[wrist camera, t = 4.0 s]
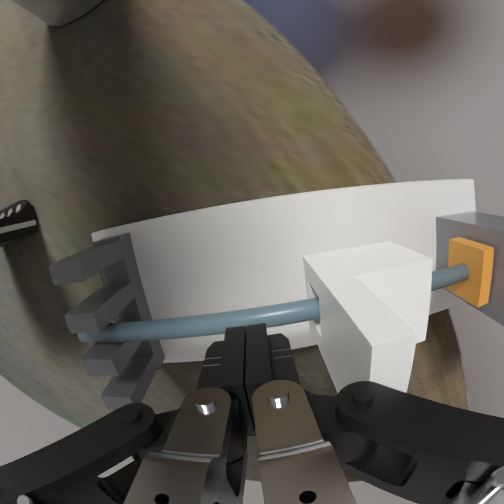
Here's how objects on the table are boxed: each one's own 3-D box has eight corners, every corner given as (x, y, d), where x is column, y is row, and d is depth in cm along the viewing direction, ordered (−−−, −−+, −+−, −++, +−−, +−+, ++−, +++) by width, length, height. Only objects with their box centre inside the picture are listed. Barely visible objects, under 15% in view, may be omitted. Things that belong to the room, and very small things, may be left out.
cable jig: (101, 230, 17) (-10, 269, 7) (461, 179, 16) (562, 185, 6) (138, 353, 19) (81, 449, 9) (461, 293, 18) (541, 344, 8)
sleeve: (302, 256, 13) (372, 346, 5) (390, 241, 13) (508, 294, 5) (309, 326, 14) (358, 448, 6) (390, 308, 14) (479, 394, 6)
